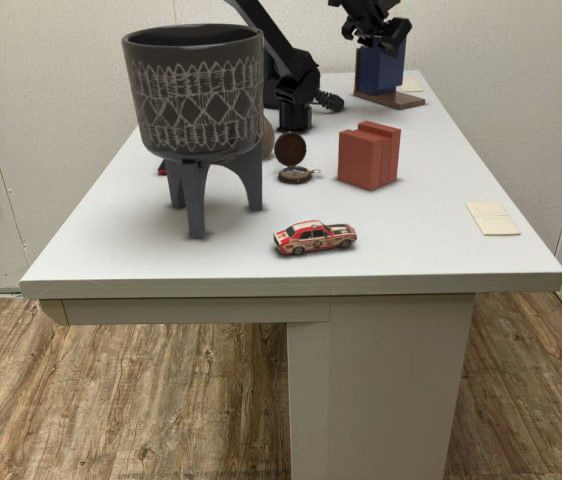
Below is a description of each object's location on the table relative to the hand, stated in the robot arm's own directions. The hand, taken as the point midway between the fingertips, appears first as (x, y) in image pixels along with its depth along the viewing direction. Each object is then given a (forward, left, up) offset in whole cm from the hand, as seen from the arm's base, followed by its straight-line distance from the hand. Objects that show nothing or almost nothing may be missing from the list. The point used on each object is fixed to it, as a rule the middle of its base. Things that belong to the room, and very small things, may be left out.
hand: (392, 55), depth 141 cm
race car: (+9, -78, -12) cm, 79 cm away
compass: (-4, -51, -12) cm, 52 cm away
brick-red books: (+8, -48, -12) cm, 51 cm away
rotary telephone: (-26, +1, -12) cm, 29 cm away
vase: (-16, -43, -12) cm, 47 cm away
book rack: (-3, +9, -12) cm, 15 cm away
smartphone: (-29, -51, -12) cm, 59 cm away
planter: (-11, -73, -12) cm, 74 cm away
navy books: (-6, +12, -11) cm, 17 cm away
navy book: (-1, -1, -7) cm, 7 cm away
